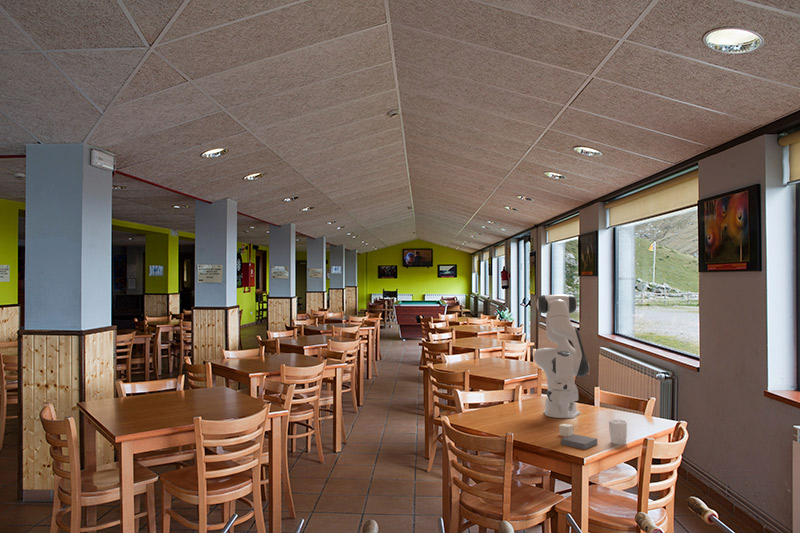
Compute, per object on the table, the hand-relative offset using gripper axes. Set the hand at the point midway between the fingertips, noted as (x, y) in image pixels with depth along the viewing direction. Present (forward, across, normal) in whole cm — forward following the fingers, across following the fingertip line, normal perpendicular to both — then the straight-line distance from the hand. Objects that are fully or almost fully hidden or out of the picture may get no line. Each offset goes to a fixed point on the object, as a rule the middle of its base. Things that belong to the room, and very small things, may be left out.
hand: (566, 412), depth 258 cm
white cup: (+12, -6, +24) cm, 27 cm away
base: (+12, +9, +12) cm, 19 cm away
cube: (+12, -1, 0) cm, 12 cm away
